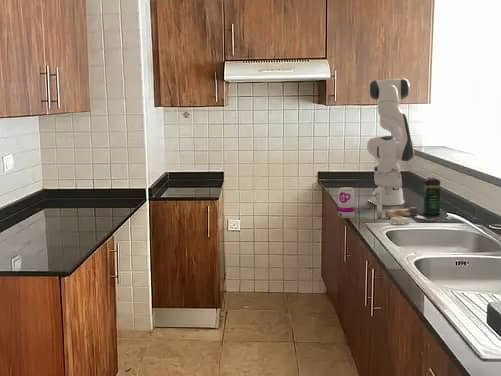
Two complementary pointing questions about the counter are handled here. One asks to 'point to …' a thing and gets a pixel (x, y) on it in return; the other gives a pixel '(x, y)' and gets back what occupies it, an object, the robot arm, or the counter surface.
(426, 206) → the coffee jar
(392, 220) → the socket
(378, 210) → the locking pin
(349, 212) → the supplement can
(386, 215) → the oak leg
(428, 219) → the hinge plate
